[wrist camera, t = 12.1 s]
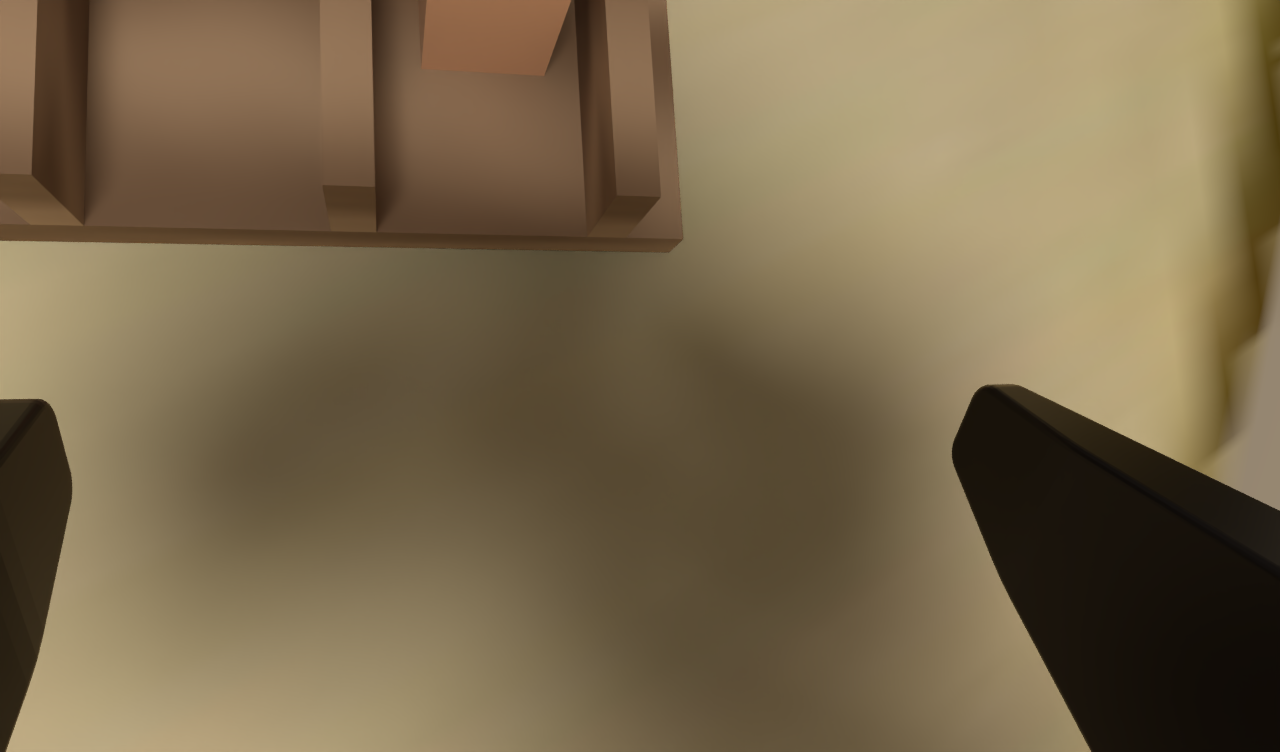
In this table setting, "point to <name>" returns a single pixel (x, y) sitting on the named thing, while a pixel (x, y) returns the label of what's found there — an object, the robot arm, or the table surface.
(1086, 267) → the table surface
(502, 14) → the clay slab
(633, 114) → the slotted wooden tray
